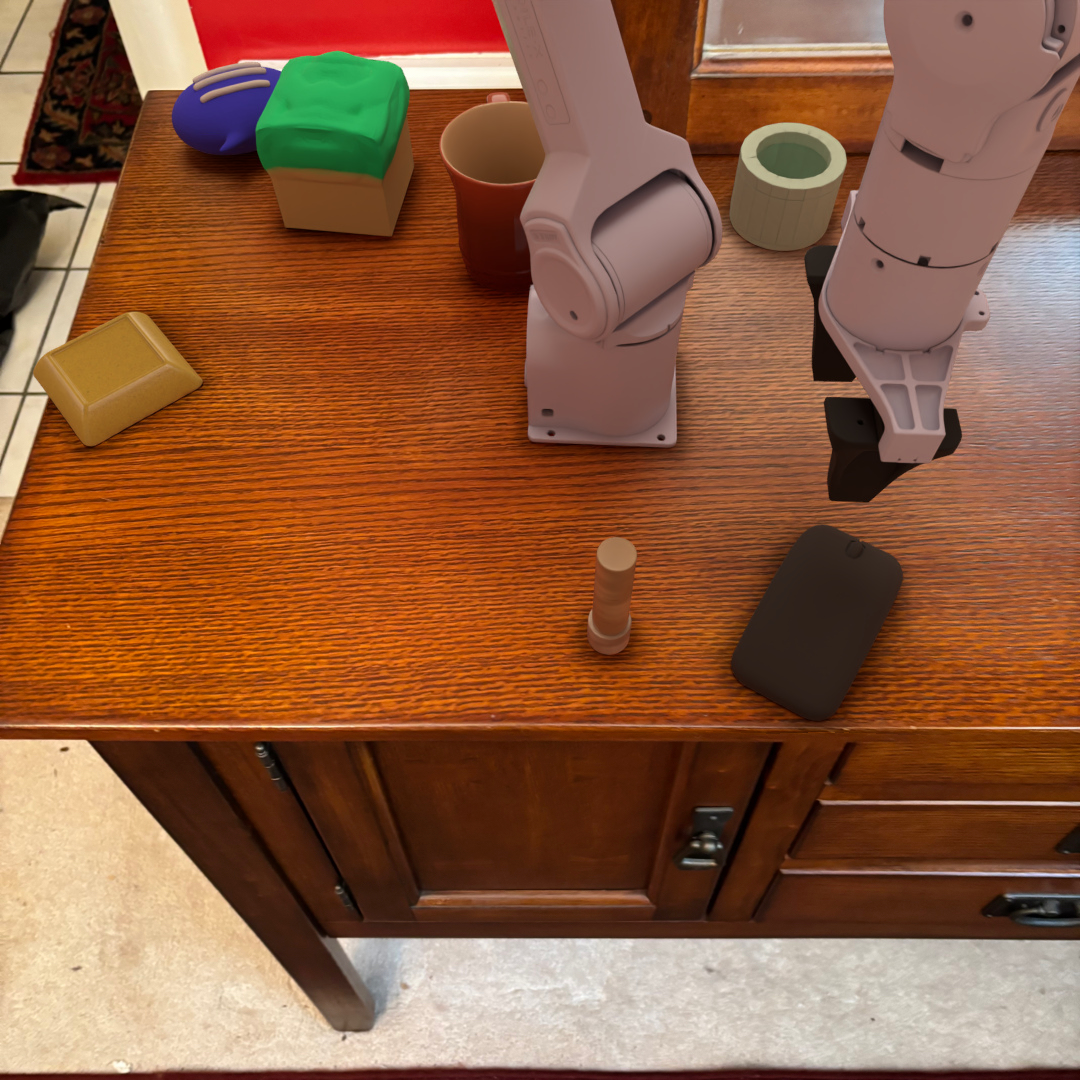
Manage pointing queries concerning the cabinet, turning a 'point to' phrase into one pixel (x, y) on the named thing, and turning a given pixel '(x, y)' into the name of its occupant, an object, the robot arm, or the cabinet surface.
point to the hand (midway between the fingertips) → (840, 434)
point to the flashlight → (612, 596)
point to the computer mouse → (817, 621)
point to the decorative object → (224, 108)
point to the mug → (493, 188)
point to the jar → (786, 185)
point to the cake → (338, 143)
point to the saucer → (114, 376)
